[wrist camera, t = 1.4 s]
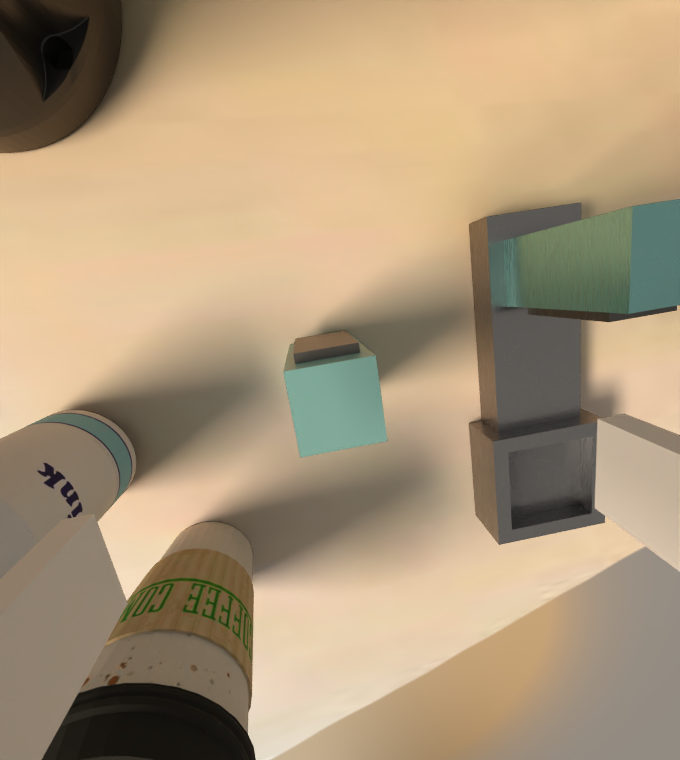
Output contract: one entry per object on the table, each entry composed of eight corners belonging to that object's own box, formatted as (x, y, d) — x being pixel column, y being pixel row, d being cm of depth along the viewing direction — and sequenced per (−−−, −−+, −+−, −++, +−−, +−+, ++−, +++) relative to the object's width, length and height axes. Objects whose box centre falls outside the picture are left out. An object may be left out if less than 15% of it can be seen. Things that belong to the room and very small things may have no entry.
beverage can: (153, 489, 26) (35, 644, 15) (53, 505, 26) (-151, 678, 14) (128, 398, 25) (-27, 491, 13) (21, 413, 24) (-239, 523, 13)
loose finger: (288, 337, 25) (281, 360, 16) (349, 327, 25) (374, 344, 16) (301, 402, 26) (300, 457, 17) (359, 392, 26) (387, 441, 17)
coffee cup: (262, 488, 27) (215, 712, 13) (287, 595, 29) (273, 889, 15) (127, 514, 26) (-85, 780, 12) (164, 622, 29) (24, 954, 14)
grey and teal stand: (454, 226, 24) (582, 169, 13) (568, 208, 25) (784, 139, 14) (475, 515, 29) (579, 647, 18) (569, 495, 30) (725, 613, 19)
